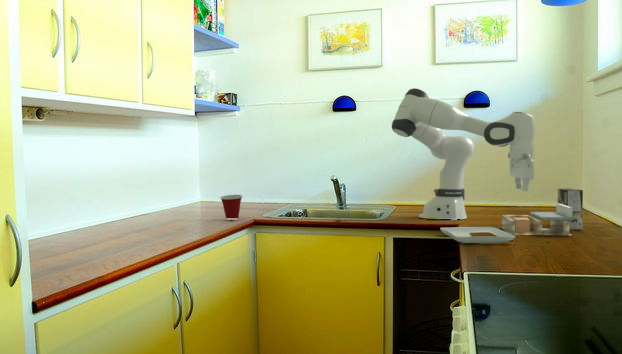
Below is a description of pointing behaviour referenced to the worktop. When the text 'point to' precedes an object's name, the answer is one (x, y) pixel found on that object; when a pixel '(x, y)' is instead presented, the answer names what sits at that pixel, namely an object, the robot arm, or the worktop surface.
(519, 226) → the terracotta block
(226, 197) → the plastic cup
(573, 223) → the coffee box
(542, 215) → the sliding roof
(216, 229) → the worktop surface
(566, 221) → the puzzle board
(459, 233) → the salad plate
